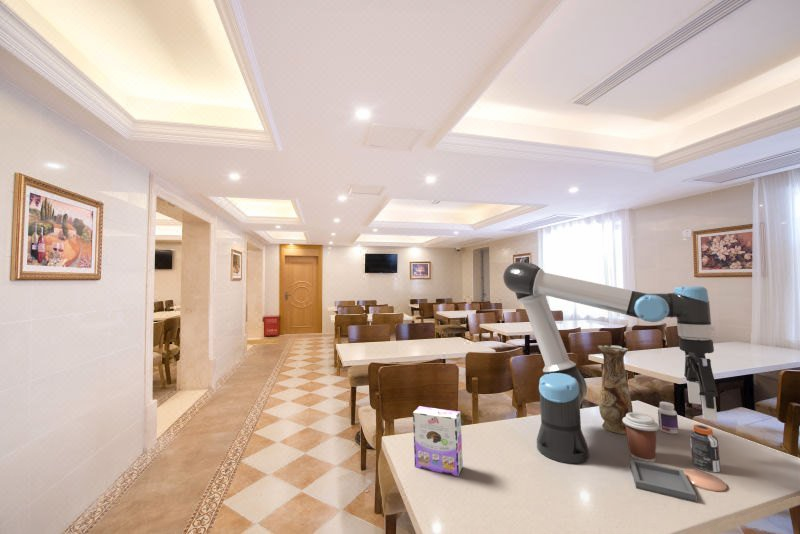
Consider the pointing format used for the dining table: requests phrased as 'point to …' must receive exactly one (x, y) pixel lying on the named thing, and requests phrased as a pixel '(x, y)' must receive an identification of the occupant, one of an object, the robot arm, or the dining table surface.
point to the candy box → (438, 440)
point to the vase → (614, 389)
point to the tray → (662, 480)
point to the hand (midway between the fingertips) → (702, 411)
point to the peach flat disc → (704, 480)
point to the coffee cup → (641, 436)
